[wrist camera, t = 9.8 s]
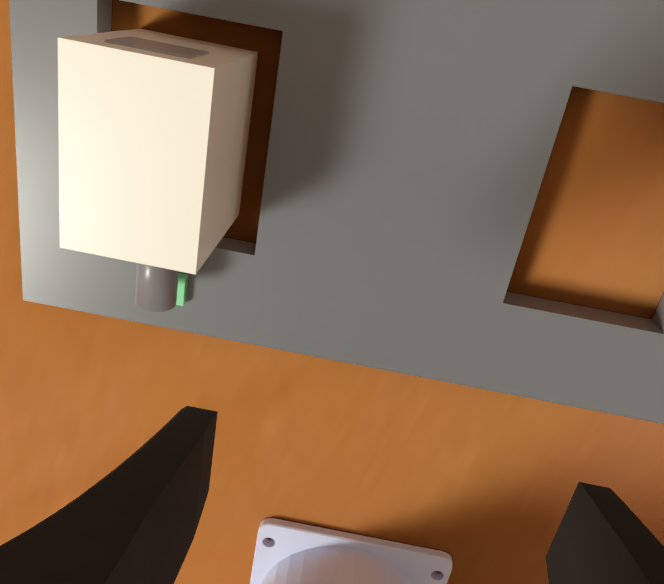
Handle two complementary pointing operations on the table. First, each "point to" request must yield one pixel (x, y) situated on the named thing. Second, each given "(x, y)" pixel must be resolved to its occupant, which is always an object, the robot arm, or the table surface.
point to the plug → (151, 150)
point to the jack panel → (381, 191)
